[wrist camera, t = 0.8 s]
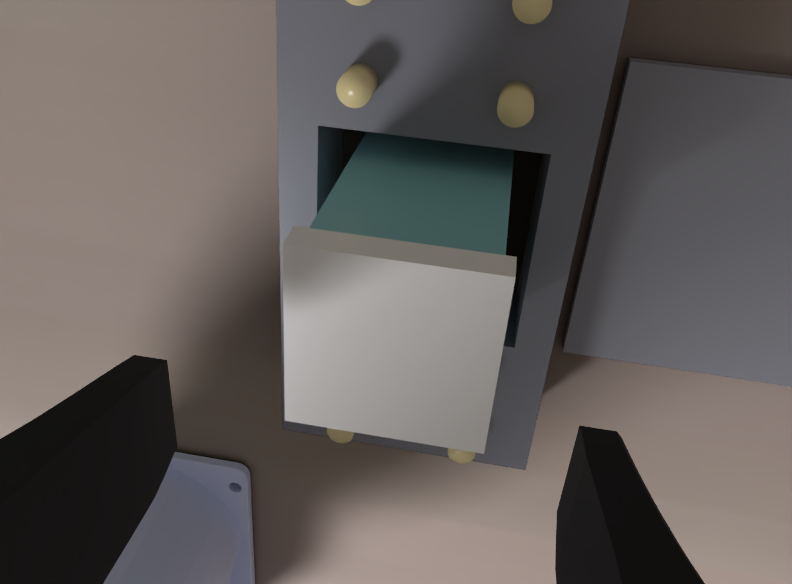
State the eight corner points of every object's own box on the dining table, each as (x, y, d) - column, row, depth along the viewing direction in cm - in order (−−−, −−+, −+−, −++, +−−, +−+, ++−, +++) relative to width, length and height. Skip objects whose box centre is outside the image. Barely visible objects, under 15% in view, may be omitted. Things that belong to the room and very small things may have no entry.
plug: (500, 271, 23) (483, 453, 16) (358, 251, 23) (284, 420, 16) (523, 132, 20) (515, 277, 14) (365, 113, 21) (282, 244, 14)
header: (526, 406, 25) (525, 489, 22) (307, 371, 26) (275, 446, 23) (625, -63, 18) (644, -41, 14) (311, -92, 18) (263, -78, 15)
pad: (825, 384, 23) (829, 392, 22) (562, 344, 24) (562, 352, 23) (963, 94, 18) (971, 99, 18) (628, 57, 19) (630, 61, 19)
